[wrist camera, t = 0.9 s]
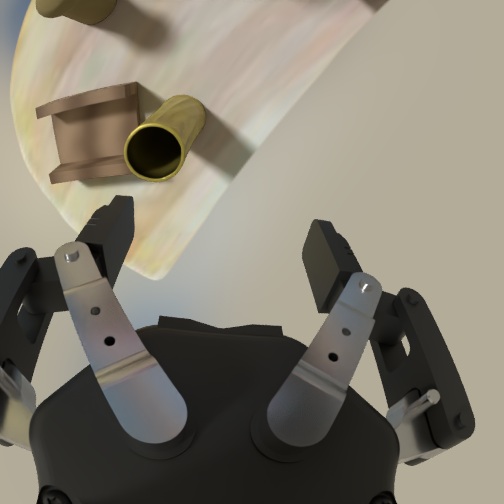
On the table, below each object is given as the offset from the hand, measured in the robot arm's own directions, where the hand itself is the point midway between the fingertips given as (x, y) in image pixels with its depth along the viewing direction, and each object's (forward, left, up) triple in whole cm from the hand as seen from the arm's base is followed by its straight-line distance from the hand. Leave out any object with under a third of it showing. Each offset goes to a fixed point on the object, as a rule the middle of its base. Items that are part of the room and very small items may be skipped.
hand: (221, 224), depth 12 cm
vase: (+6, 0, -26) cm, 26 cm away
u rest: (+18, 0, -25) cm, 31 cm away
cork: (+17, -18, -26) cm, 35 cm away
